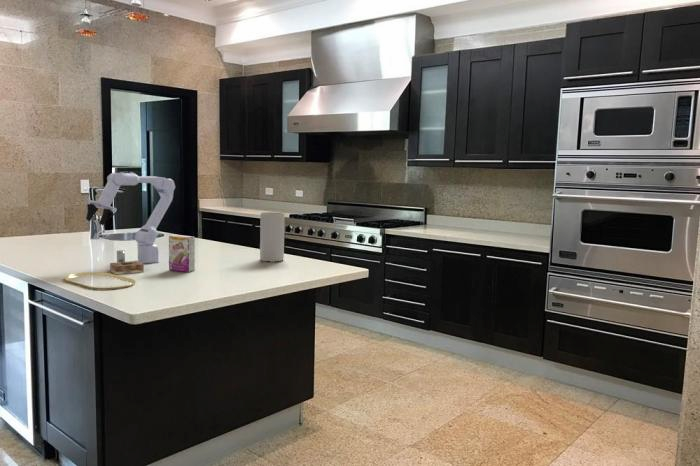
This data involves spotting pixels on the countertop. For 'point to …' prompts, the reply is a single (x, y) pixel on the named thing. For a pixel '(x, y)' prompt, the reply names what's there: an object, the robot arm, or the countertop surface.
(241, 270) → the countertop surface
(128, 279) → the yellow rubber band
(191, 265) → the candy bar box
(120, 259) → the pin
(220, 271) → the countertop surface
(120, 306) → the countertop surface
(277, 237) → the cylinder vase
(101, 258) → the countertop surface
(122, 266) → the socket block
